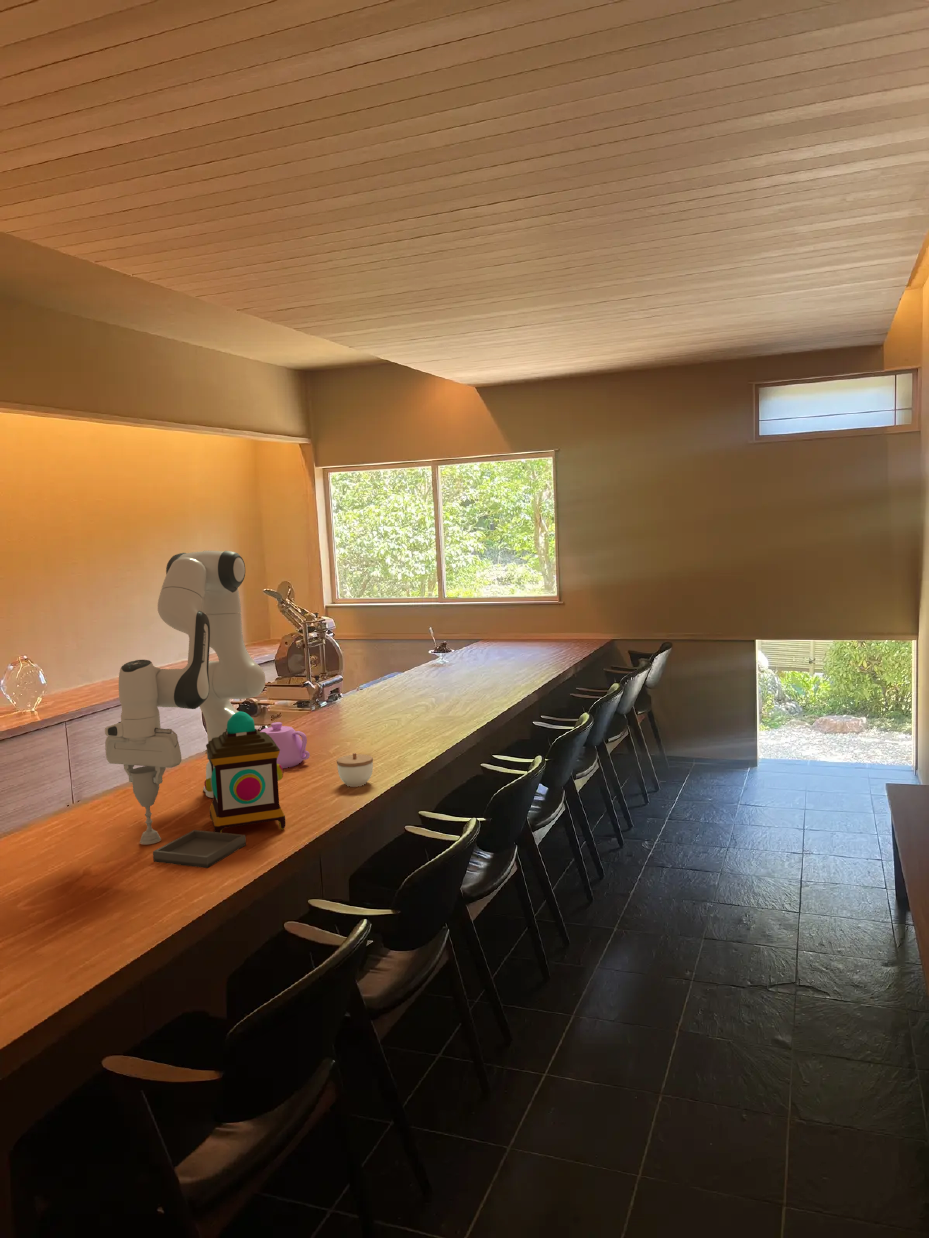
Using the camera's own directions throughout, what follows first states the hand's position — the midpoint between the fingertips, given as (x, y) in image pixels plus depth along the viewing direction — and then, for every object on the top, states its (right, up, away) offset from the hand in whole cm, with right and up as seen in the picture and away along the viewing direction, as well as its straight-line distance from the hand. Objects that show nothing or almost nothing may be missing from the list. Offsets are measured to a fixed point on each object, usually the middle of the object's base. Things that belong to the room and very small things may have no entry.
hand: (145, 782), depth 211 cm
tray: (+16, -15, -7) cm, 23 cm away
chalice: (+1, -15, +2) cm, 15 cm away
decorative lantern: (+22, -14, +13) cm, 29 cm away
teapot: (+16, -8, +74) cm, 76 cm away
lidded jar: (+46, -9, +46) cm, 66 cm away
